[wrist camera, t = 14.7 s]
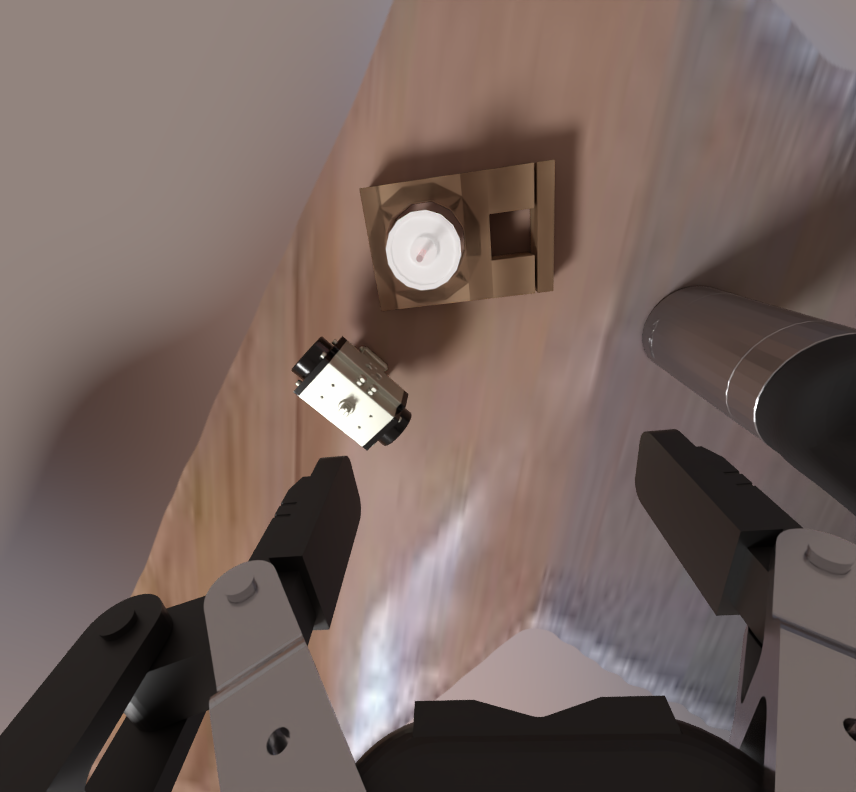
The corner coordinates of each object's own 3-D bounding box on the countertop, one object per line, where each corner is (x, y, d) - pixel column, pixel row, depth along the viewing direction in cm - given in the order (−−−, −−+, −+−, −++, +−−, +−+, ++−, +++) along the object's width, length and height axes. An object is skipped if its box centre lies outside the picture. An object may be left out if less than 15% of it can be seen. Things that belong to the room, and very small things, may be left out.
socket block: (545, 164, 36) (554, 159, 33) (544, 284, 40) (553, 290, 37) (366, 190, 37) (359, 188, 34) (386, 303, 42) (381, 311, 39)
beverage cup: (461, 212, 38) (468, 213, 25) (455, 277, 41) (459, 306, 28) (399, 207, 38) (375, 205, 25) (397, 272, 41) (374, 299, 28)
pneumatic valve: (392, 408, 48) (376, 466, 37) (316, 344, 44) (274, 387, 34) (423, 379, 46) (415, 431, 35) (346, 310, 43) (312, 343, 32)
